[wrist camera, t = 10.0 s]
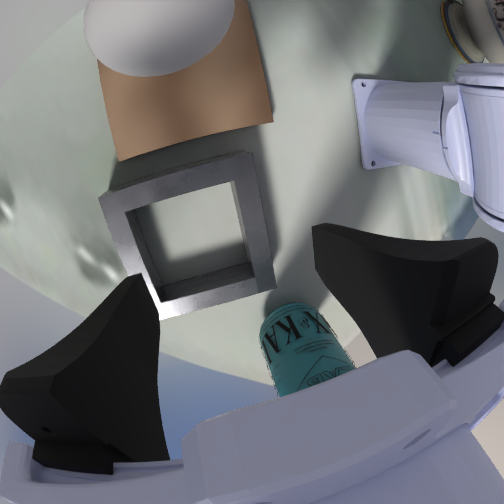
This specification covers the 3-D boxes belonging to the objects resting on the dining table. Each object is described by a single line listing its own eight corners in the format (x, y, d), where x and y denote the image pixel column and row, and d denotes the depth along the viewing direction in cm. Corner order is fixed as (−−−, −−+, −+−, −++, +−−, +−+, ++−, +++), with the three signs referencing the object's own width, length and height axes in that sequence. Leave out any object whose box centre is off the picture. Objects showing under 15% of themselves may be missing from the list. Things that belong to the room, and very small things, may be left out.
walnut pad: (241, -3, 13) (244, -8, 13) (269, 122, 18) (273, 122, 18) (97, 31, 12) (93, 27, 11) (122, 160, 17) (119, 161, 16)
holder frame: (244, 150, 19) (252, 153, 17) (268, 272, 24) (276, 287, 22) (108, 190, 18) (98, 198, 16) (152, 304, 23) (150, 322, 20)
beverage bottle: (320, 325, 28) (418, 483, 11) (263, 351, 28) (333, 526, 10) (307, 279, 25) (440, 468, 8) (241, 308, 25) (322, 530, 7)
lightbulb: (119, 37, 12) (60, -38, 3) (205, 13, 13) (228, -84, 3) (135, 111, 15) (67, 87, 5) (224, 86, 16) (268, 29, 6)
